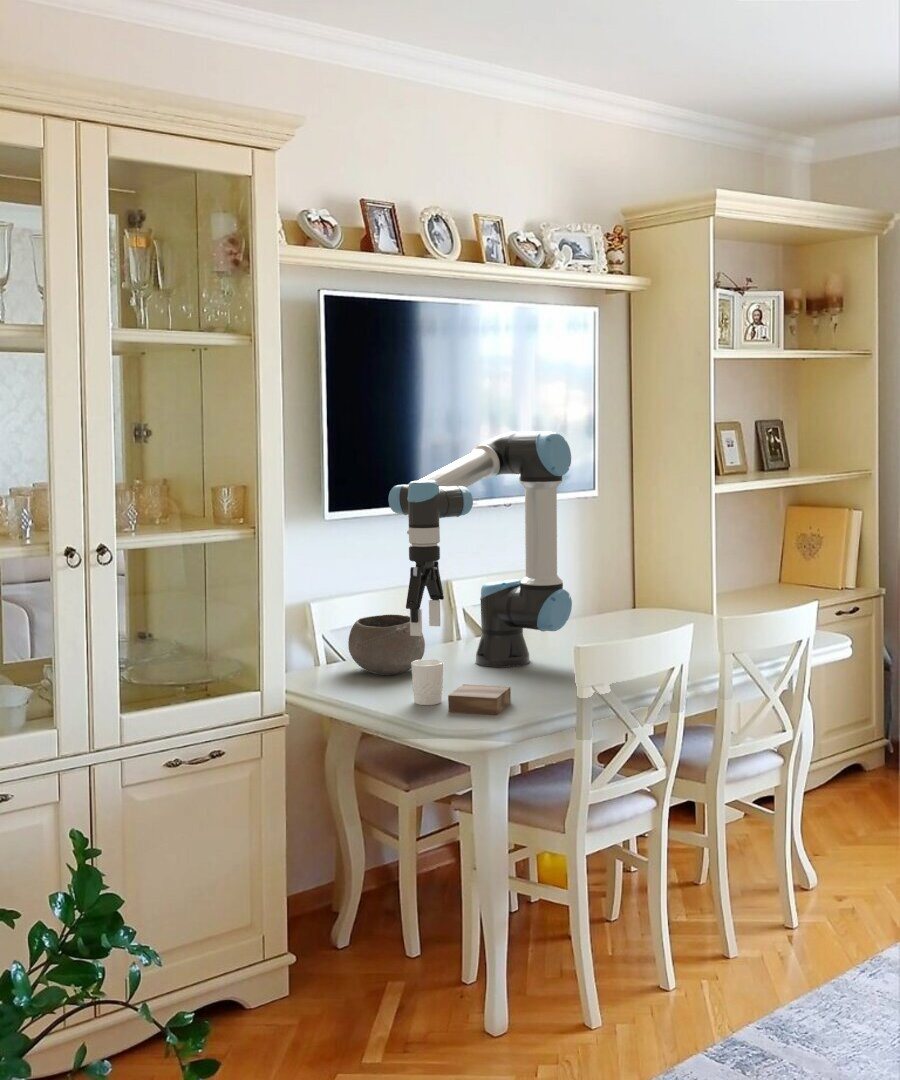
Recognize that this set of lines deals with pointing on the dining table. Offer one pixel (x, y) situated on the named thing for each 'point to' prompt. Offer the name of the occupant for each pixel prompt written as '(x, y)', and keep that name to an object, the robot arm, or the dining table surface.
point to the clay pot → (385, 644)
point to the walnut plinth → (479, 699)
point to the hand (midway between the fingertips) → (425, 630)
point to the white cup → (427, 681)
